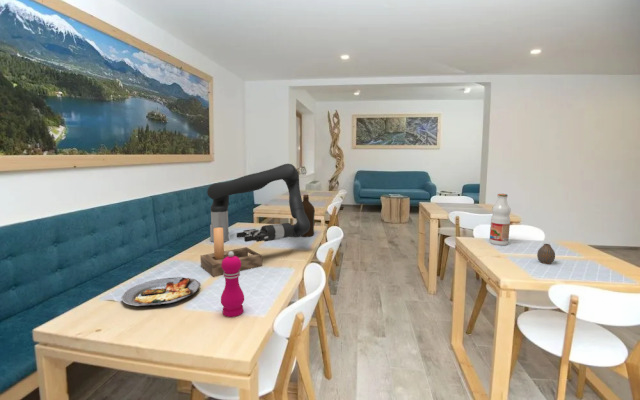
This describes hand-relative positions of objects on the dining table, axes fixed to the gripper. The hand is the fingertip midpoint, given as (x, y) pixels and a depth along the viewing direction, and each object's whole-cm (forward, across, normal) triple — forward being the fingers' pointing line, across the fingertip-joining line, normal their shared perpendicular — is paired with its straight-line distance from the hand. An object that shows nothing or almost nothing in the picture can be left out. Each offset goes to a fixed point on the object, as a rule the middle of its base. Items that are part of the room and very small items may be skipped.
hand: (240, 237), depth 151 cm
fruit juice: (-131, +52, +13) cm, 142 cm away
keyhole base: (+5, 0, +12) cm, 13 cm away
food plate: (+36, +14, +13) cm, 41 cm away
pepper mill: (+22, +42, +13) cm, 49 cm away
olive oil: (-55, -27, +13) cm, 62 cm away
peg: (+10, 0, +12) cm, 16 cm away
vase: (-115, +82, +13) cm, 141 cm away
